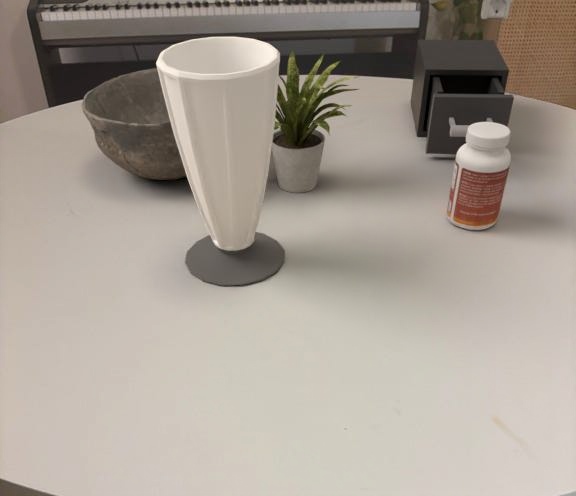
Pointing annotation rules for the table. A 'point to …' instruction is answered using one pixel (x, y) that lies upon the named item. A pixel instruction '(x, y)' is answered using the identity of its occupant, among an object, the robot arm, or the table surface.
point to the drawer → (462, 109)
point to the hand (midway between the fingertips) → (493, 18)
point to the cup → (225, 149)
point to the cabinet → (452, 68)
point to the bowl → (135, 125)
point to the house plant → (302, 127)
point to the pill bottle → (479, 176)
